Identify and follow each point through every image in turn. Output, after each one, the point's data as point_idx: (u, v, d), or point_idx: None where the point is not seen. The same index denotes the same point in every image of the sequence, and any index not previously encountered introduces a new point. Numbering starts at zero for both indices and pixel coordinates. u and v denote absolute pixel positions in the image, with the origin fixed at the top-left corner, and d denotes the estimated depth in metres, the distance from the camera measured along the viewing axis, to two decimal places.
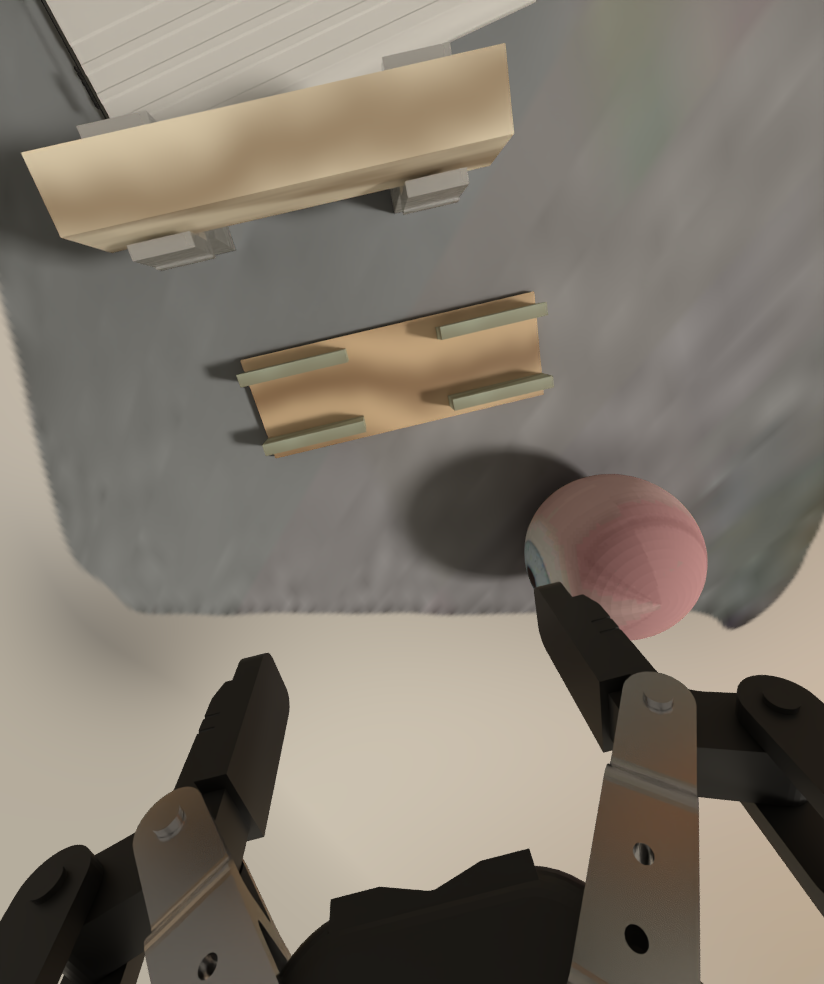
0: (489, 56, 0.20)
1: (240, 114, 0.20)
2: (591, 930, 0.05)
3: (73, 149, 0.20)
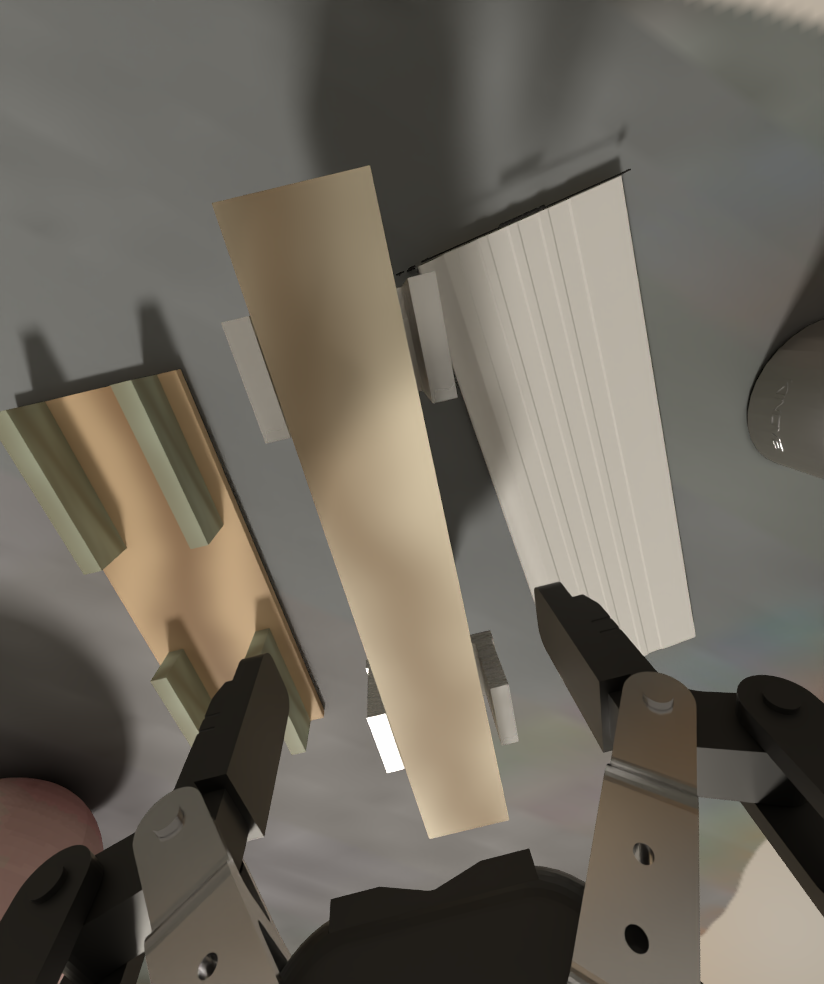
0: (498, 810, 0.18)
1: (442, 568, 0.13)
2: (591, 930, 0.05)
3: (382, 286, 0.10)
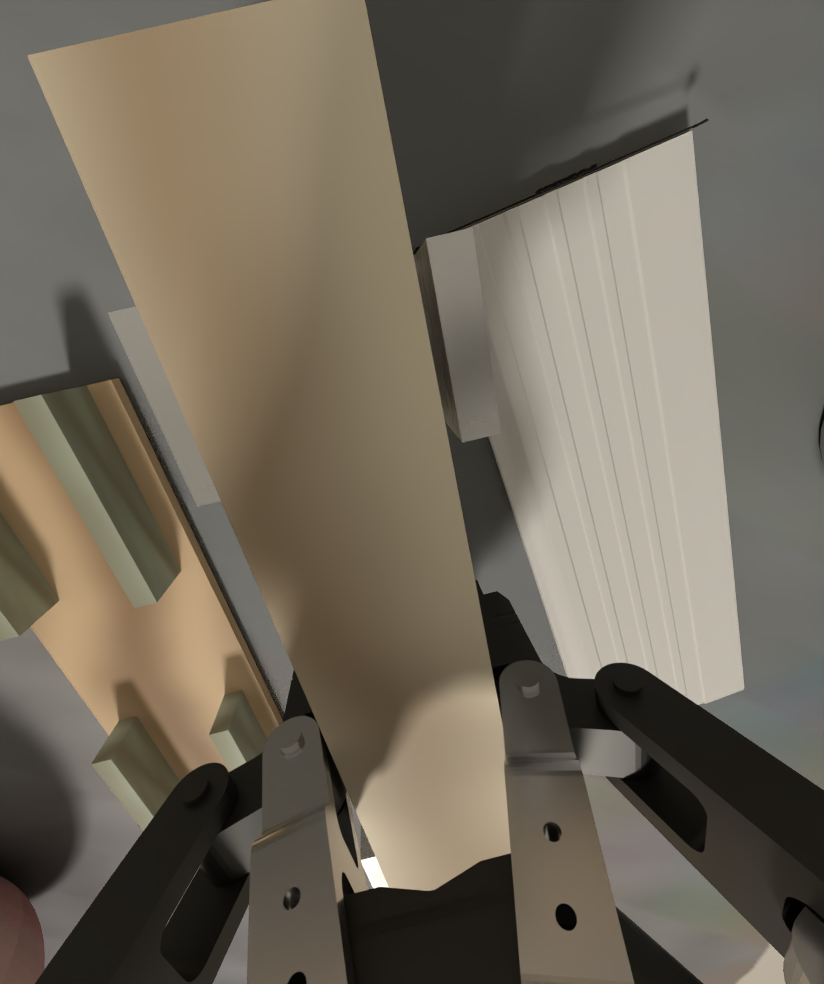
0: None
1: (476, 700, 0.08)
2: (529, 931, 0.05)
3: (385, 242, 0.05)
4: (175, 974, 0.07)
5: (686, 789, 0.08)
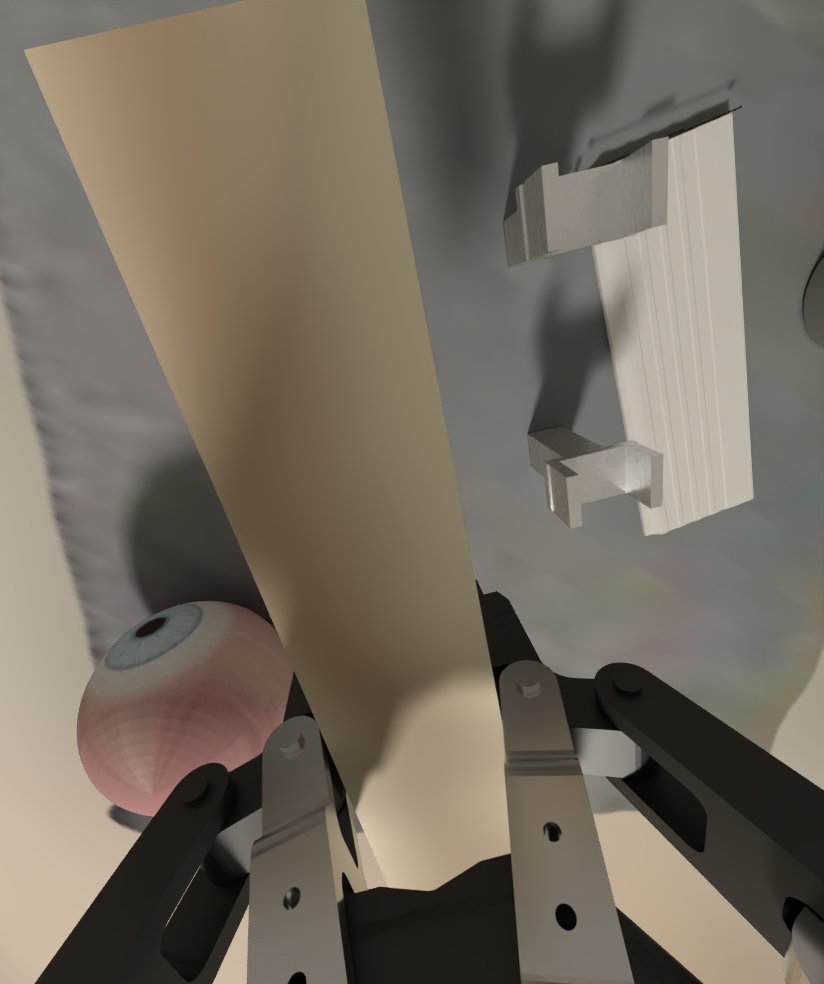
0: None
1: (476, 700, 0.08)
2: (529, 931, 0.05)
3: (384, 239, 0.05)
4: (176, 974, 0.07)
5: (686, 789, 0.08)
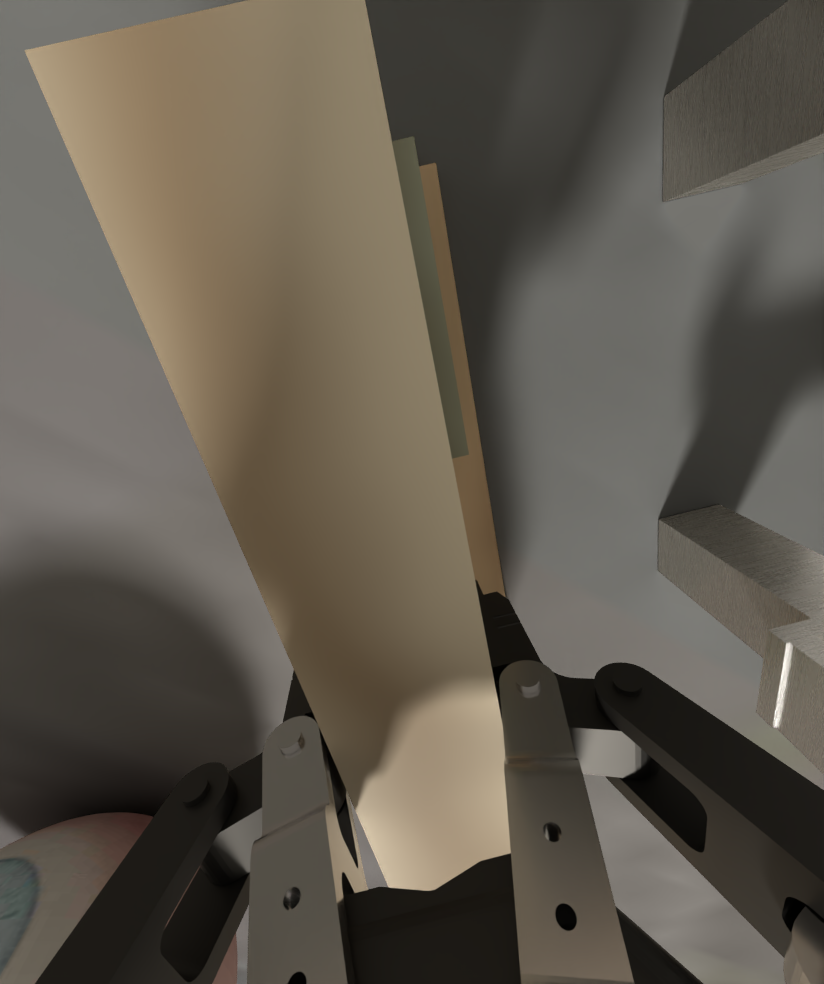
0: None
1: (476, 699, 0.08)
2: (529, 931, 0.05)
3: (384, 239, 0.05)
4: (176, 973, 0.07)
5: (686, 789, 0.08)
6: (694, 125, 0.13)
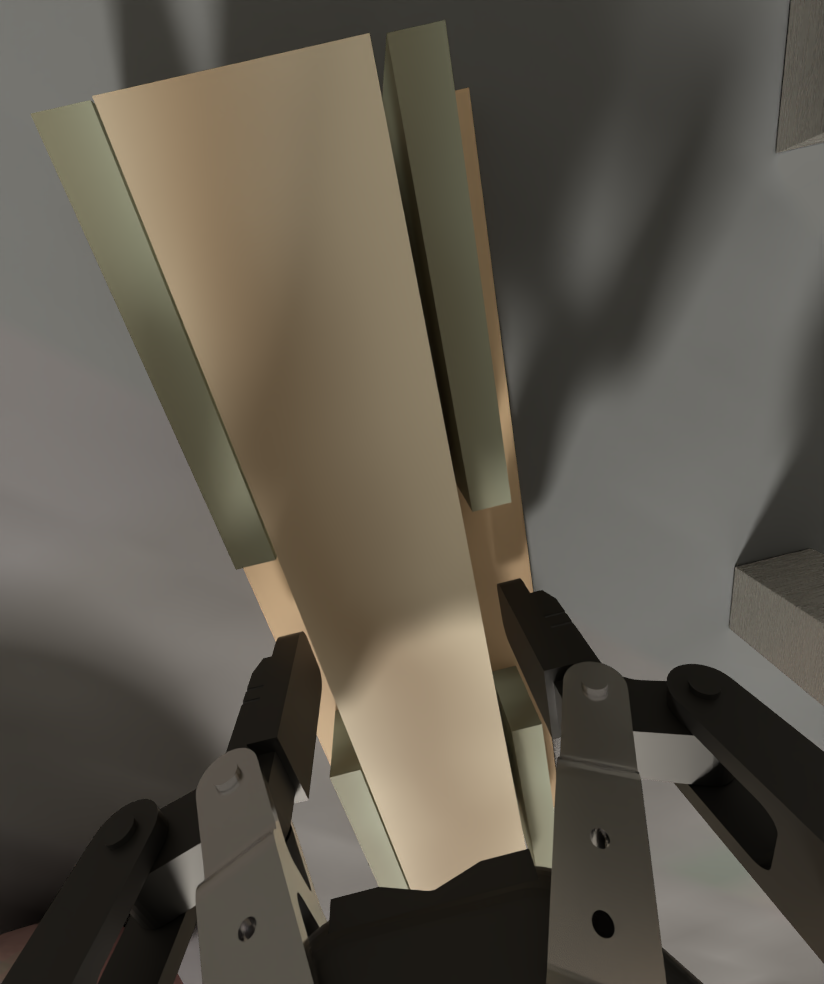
0: None
1: (471, 661, 0.09)
2: (561, 927, 0.05)
3: (389, 250, 0.06)
4: None
5: (761, 807, 0.08)
6: None
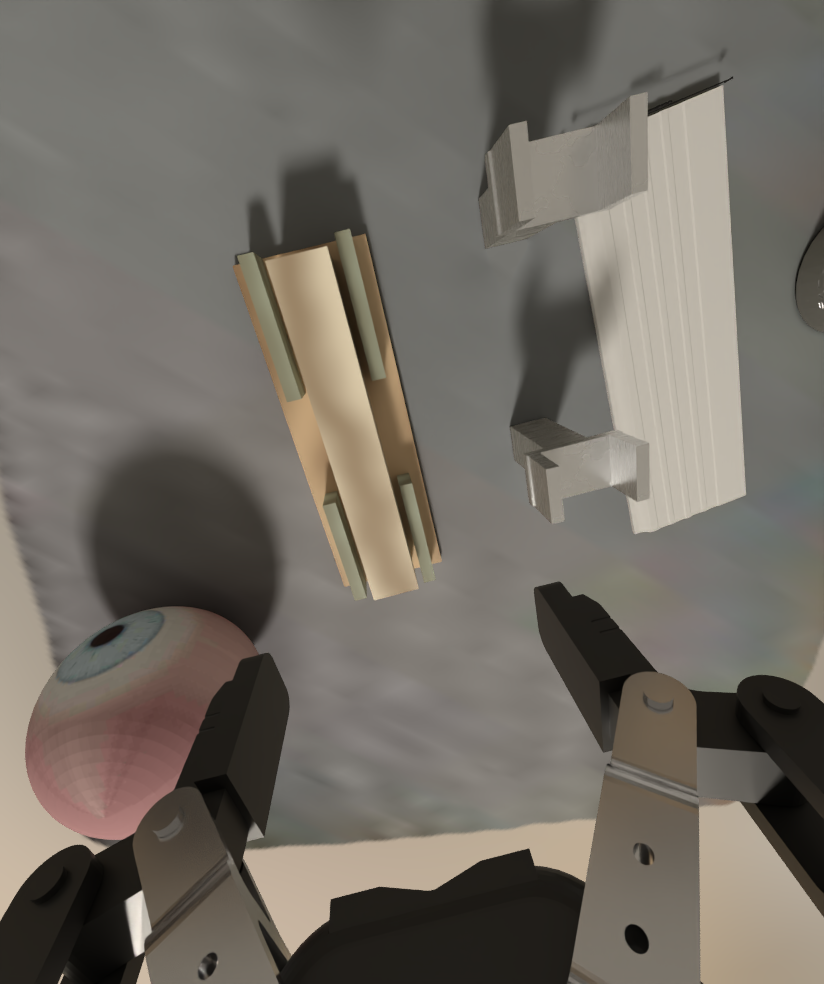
0: (411, 581, 0.32)
1: (368, 427, 0.28)
2: (591, 930, 0.05)
3: (333, 293, 0.24)
4: None
5: None
6: (487, 216, 0.27)
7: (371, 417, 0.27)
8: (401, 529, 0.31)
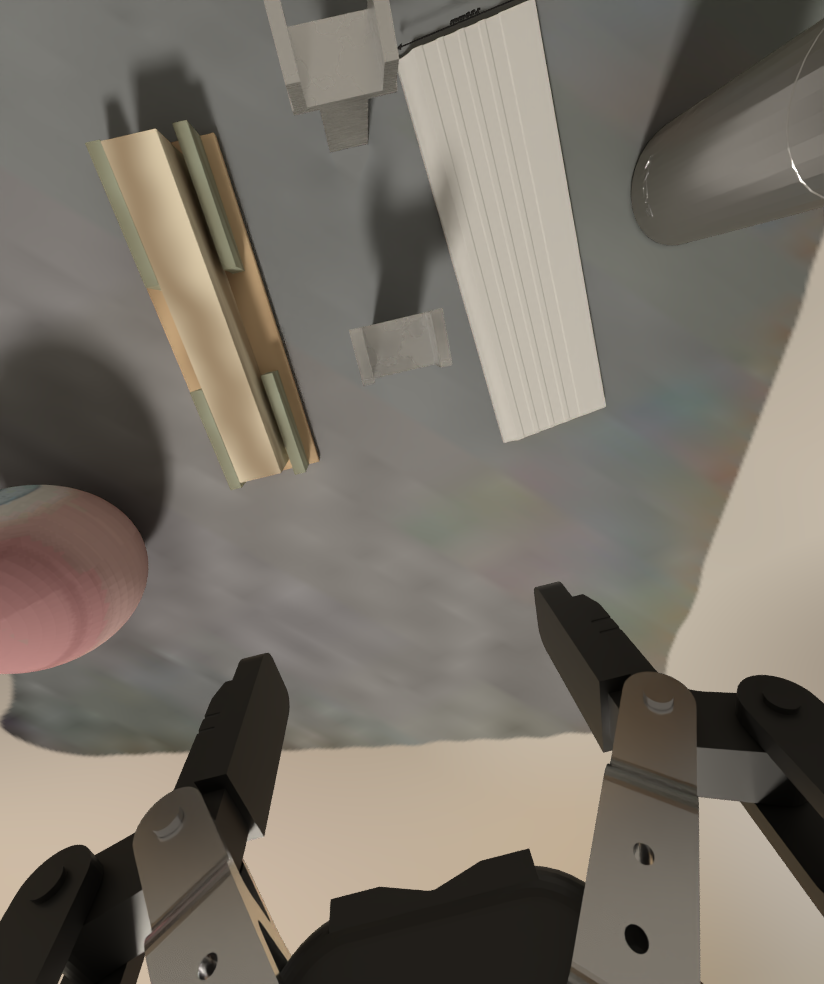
0: (273, 464, 0.35)
1: (214, 307, 0.31)
2: (591, 930, 0.05)
3: (167, 174, 0.27)
4: None
5: None
6: (321, 116, 0.30)
7: (216, 298, 0.30)
8: (257, 411, 0.34)
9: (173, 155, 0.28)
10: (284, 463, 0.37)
